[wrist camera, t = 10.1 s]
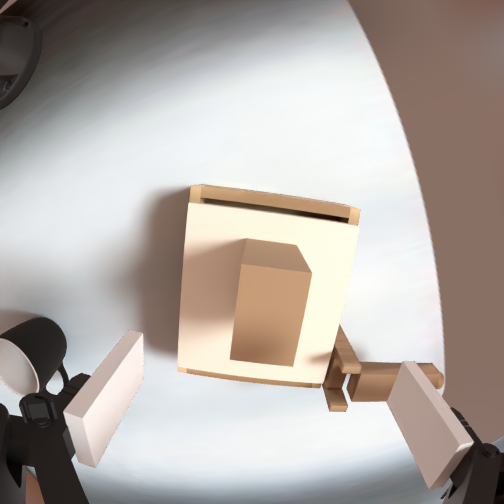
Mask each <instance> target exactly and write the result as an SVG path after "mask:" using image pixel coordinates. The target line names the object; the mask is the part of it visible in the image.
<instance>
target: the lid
mask: <svg viewBox="0 0 504 504" xmlns="http://www.w3.org/2000/svg"><path fill="white" fill-rule="evenodd" d="M359 228H360V226H358V225H355V224H349V223H343V222H337V221H330V220H324V219H317V218H311V217H304V216H297V215H290V214H283V213H276V212H269V211H261V210H254V209H246V208H239V207H231V206H223V205H214V204H206V203H197V202H189V204H188V213H187V223H186V234H185V245H184V257H183V270H182V284H181V299H180V316H179V337H178V365H177V367H183V368H189V369H194V370H201V371H207V372H214V373H220V374H228V375H235V376H243V377H251V378H260V379H270V380H280V381H292V382H305V383H321V384H323V382H324V379H325V375H326V372H327V368H328V365H329V361H330V358H331V354H332V350H333V346H334V343H335V339H336V335H337V331H338V327H339V323H340V319H341V315H342V310H343V306H344V302H345V297H346V293H347V288H348V284H349V279H350V275H351V270H352V265H353V260H354V255H355V250H356V244H357V239H358V233H359Z"/></svg>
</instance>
